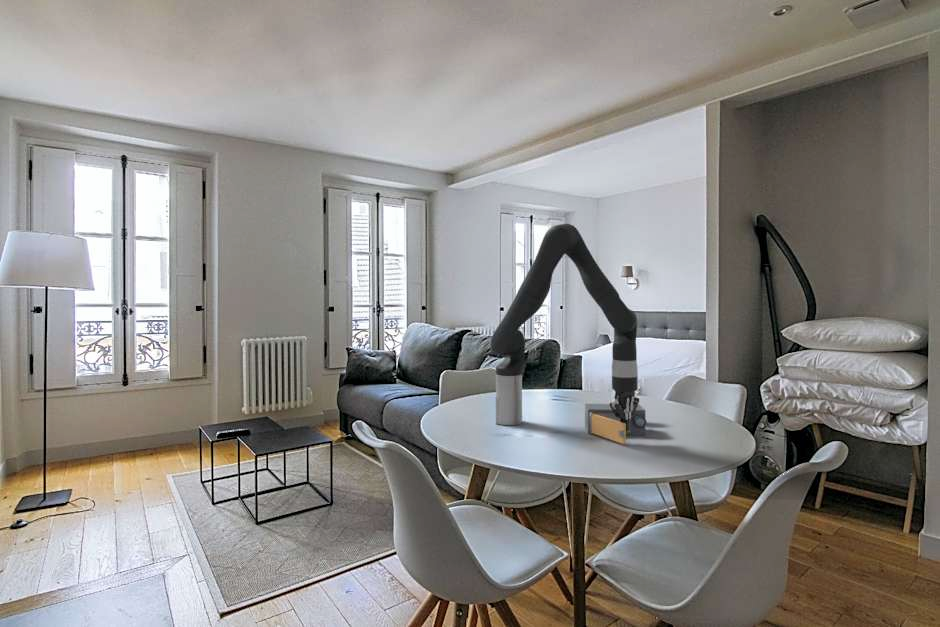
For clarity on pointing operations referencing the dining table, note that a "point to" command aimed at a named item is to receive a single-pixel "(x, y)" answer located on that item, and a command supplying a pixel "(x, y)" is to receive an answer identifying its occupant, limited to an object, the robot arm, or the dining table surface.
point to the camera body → (605, 410)
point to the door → (608, 428)
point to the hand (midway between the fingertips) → (625, 430)
